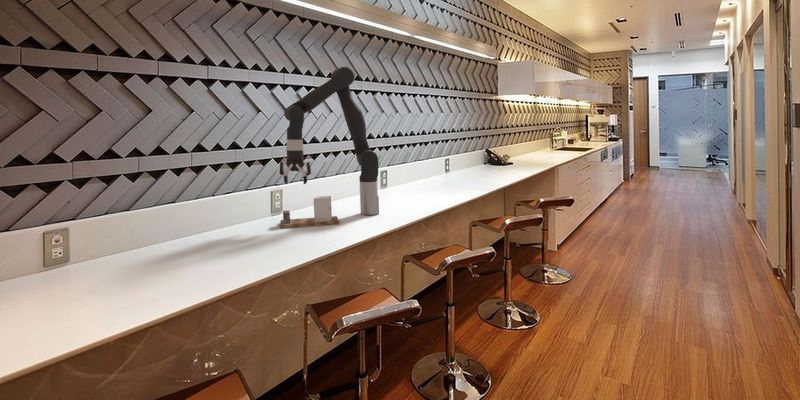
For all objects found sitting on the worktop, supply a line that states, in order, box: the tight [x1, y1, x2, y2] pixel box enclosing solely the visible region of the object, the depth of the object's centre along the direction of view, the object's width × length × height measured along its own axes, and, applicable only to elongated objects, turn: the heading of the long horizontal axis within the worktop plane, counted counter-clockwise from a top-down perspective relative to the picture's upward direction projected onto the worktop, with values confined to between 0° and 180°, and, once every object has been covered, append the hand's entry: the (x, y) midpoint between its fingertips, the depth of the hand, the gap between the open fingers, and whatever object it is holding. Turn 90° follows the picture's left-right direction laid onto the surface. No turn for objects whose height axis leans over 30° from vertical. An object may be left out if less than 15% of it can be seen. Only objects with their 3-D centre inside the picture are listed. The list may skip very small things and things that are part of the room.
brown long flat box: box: [279, 209, 341, 229], centre depth 210 cm, size 27×12×6 cm, turn 104°
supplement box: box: [313, 195, 333, 222], centre depth 211 cm, size 7×7×13 cm
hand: (295, 183), depth 208 cm, fingers open, 8 cm apart
